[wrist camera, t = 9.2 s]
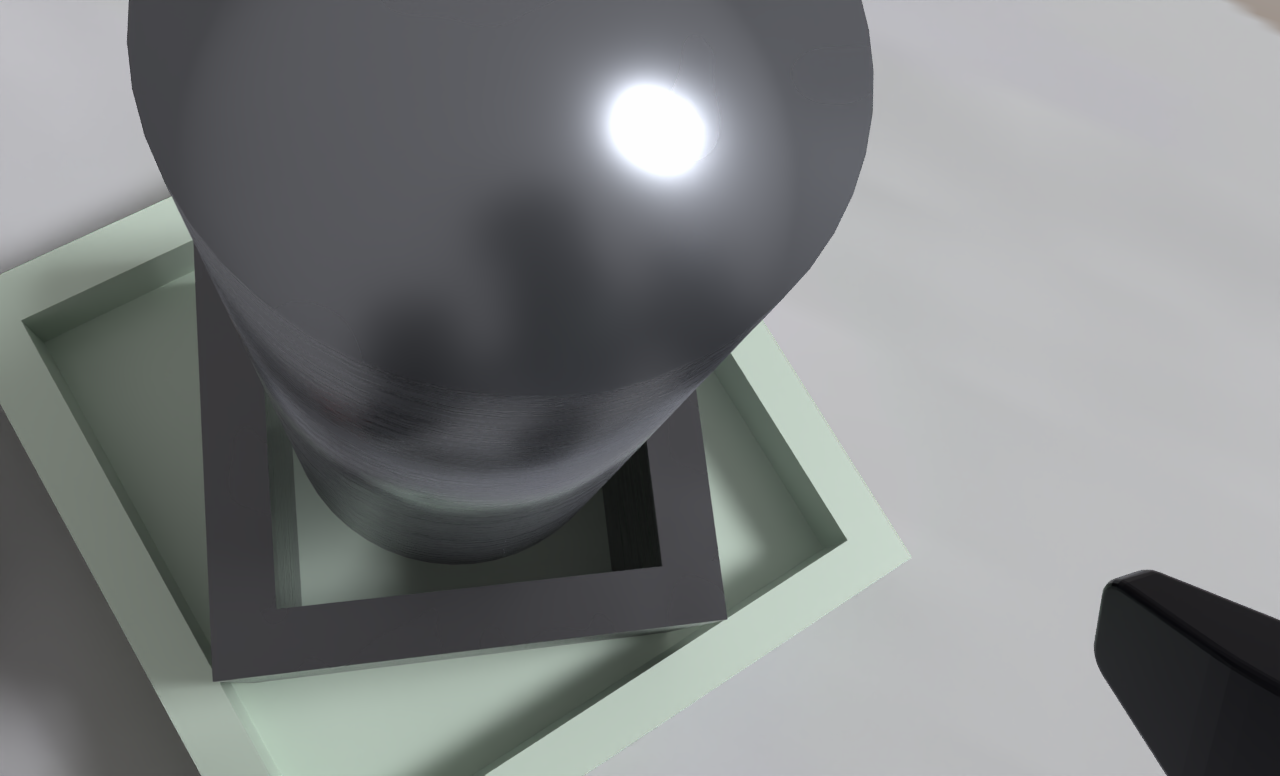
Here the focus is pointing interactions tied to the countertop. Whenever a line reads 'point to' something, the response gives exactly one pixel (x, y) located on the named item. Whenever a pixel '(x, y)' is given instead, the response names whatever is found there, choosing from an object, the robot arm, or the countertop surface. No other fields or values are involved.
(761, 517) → the tray
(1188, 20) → the countertop surface
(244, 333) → the grey cylinder in socket
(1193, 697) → the robot arm
